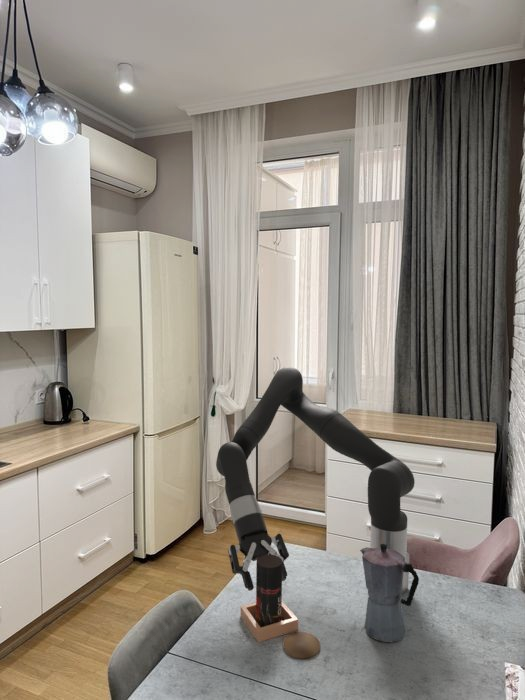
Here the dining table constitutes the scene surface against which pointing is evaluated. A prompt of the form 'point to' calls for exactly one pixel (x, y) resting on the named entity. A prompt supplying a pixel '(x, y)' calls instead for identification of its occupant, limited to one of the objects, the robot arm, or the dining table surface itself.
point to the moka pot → (386, 592)
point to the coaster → (301, 645)
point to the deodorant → (268, 590)
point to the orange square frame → (270, 630)
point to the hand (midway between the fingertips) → (267, 584)
